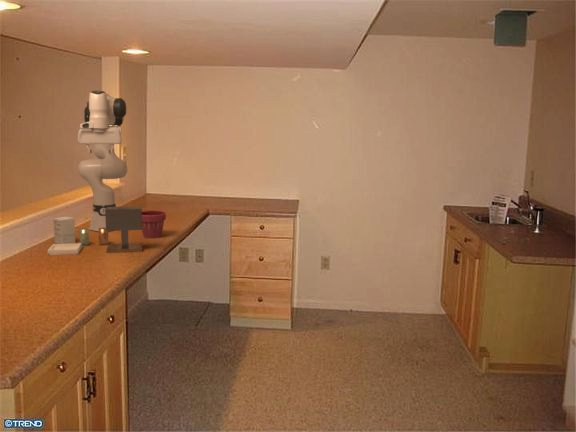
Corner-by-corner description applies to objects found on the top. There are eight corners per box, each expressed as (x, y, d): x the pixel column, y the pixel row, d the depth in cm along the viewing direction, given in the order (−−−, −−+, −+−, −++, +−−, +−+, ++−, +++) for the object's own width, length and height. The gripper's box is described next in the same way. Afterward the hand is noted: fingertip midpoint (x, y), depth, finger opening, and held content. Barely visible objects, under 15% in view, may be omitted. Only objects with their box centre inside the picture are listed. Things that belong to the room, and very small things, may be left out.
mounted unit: (109, 246, 276) (107, 206, 273) (143, 245, 280) (141, 205, 276) (106, 252, 265) (104, 210, 261) (142, 251, 268) (140, 209, 265)
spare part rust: (99, 243, 283) (98, 227, 282) (109, 243, 284) (108, 227, 283) (98, 245, 279) (97, 229, 278) (108, 245, 280) (107, 229, 278)
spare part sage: (80, 244, 281) (79, 228, 280) (90, 243, 282) (89, 228, 281) (79, 246, 277) (78, 230, 276) (88, 245, 278) (88, 229, 277)
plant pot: (159, 240, 292) (158, 215, 290) (133, 238, 295) (133, 214, 293) (170, 234, 306) (169, 211, 304) (146, 233, 309) (145, 209, 307)
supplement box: (68, 240, 289) (66, 216, 286) (76, 242, 284) (74, 217, 282) (54, 243, 283) (52, 218, 281) (62, 245, 278) (60, 219, 276)
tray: (53, 248, 272) (52, 244, 271) (82, 247, 274) (81, 243, 274) (47, 255, 259) (47, 250, 259) (77, 254, 262) (77, 249, 261)
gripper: (122, 124, 282) (123, 152, 285) (78, 124, 278) (79, 152, 281) (120, 125, 276) (122, 153, 279) (76, 124, 272) (77, 153, 275)
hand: (100, 153), depth 280 cm, fingers open, 8 cm apart
